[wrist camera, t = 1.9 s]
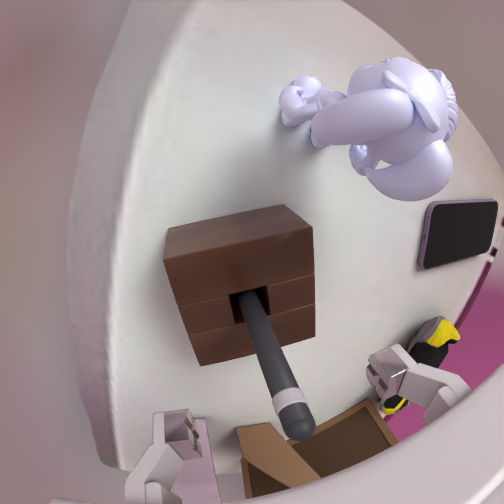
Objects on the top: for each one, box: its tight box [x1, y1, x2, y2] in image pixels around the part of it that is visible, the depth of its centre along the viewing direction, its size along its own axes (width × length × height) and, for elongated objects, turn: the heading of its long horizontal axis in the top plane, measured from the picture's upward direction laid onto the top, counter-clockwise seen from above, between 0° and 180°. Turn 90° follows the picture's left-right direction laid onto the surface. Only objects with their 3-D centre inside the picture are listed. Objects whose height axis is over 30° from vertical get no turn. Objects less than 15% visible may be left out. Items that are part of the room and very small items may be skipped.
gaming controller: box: [379, 316, 460, 415], centre depth 29 cm, size 15×6×10 cm
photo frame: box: [236, 398, 399, 499], centre depth 22 cm, size 15×22×25 cm
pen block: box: [163, 205, 315, 366], centre depth 18 cm, size 8×8×5 cm
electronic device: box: [173, 418, 222, 504], centre depth 24 cm, size 10×5×10 cm, turn 178°
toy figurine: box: [279, 57, 458, 201], centre depth 12 cm, size 7×6×12 cm
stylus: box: [236, 289, 316, 441], centre depth 14 cm, size 1×1×14 cm
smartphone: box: [418, 199, 498, 270], centre depth 25 cm, size 7×1×15 cm
